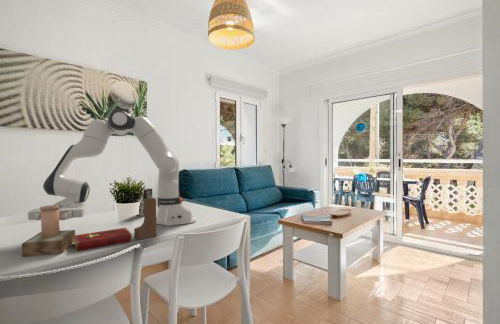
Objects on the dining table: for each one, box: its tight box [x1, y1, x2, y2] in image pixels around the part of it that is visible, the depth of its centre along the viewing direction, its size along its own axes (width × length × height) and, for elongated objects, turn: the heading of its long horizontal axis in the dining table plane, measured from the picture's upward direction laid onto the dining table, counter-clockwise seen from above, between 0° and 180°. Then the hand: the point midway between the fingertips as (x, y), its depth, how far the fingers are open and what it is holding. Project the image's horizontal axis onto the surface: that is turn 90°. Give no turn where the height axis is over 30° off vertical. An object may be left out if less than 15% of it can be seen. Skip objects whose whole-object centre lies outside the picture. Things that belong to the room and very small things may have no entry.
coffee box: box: [139, 188, 153, 217], centre depth 168 cm, size 9×6×16 cm
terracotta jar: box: [39, 204, 61, 238], centre depth 108 cm, size 6×6×12 cm
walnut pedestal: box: [21, 229, 76, 258], centre depth 109 cm, size 13×15×5 cm
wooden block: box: [133, 197, 157, 241], centre depth 123 cm, size 9×4×18 cm, turn 128°
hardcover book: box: [74, 227, 133, 252], centre depth 116 cm, size 12×21×4 cm, turn 127°
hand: (50, 217), depth 108 cm, fingers open, 8 cm apart
